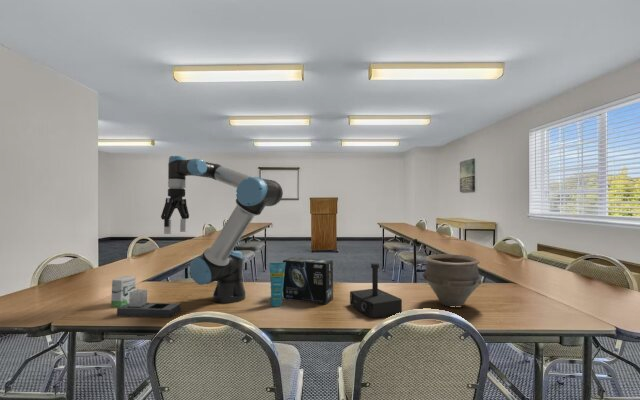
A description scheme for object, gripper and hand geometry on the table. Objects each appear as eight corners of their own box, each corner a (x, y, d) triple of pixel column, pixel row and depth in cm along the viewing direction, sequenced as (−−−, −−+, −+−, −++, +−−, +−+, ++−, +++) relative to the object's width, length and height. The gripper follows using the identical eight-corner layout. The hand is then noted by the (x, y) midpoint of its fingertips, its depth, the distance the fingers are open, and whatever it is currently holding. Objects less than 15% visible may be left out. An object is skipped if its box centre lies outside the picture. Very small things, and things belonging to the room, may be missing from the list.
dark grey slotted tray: (180, 310, 124) (180, 303, 125) (169, 317, 116) (169, 309, 117) (130, 309, 126) (131, 302, 126) (116, 315, 118) (117, 308, 118)
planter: (494, 309, 130) (494, 259, 131) (461, 318, 118) (461, 263, 119) (444, 294, 151) (444, 251, 152) (412, 301, 139) (412, 254, 140)
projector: (345, 305, 134) (346, 261, 134) (376, 301, 140) (376, 259, 141) (368, 320, 116) (369, 269, 117) (403, 314, 123) (402, 266, 123)
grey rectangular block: (146, 311, 124) (147, 289, 124) (139, 315, 119) (140, 292, 119) (136, 310, 124) (137, 289, 124) (128, 314, 119) (129, 292, 120)
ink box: (120, 307, 128) (121, 280, 128) (110, 307, 129) (111, 279, 129) (135, 301, 136) (136, 276, 137) (126, 301, 137) (127, 275, 137)
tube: (268, 307, 130) (269, 263, 130) (268, 303, 135) (268, 261, 135) (285, 306, 131) (286, 263, 132) (284, 302, 136) (285, 261, 137)
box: (281, 298, 143) (282, 259, 143) (291, 293, 152) (292, 256, 153) (326, 305, 134) (326, 263, 134) (333, 299, 143) (334, 259, 144)
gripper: (182, 190, 154) (181, 230, 153) (152, 186, 129) (151, 234, 128) (196, 190, 153) (195, 231, 152) (169, 186, 128) (168, 235, 127)
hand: (175, 232), depth 140 cm, fingers open, 13 cm apart
